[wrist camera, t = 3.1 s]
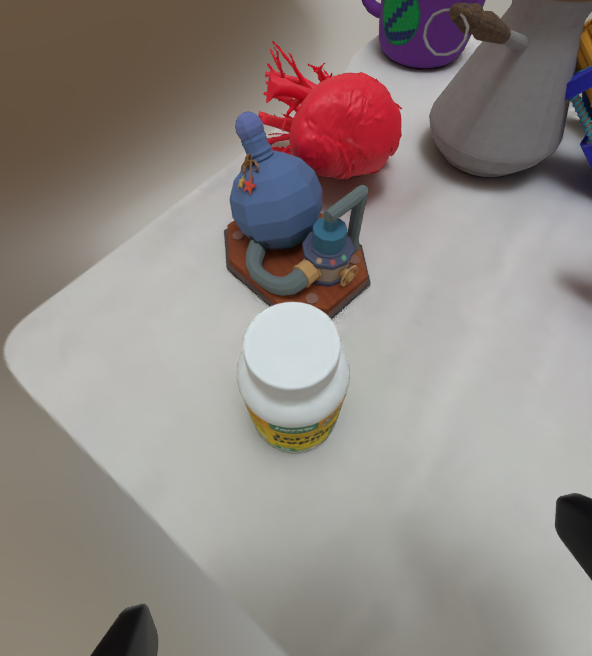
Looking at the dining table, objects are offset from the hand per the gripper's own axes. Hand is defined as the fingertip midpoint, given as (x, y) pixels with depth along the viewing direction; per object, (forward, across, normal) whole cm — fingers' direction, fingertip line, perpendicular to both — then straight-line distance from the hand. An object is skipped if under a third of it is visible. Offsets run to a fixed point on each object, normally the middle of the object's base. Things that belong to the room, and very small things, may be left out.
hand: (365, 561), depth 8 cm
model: (+23, -2, -4) cm, 24 cm away
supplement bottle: (+15, 0, +4) cm, 16 cm away
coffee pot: (+28, -19, -9) cm, 35 cm away
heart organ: (+21, -8, -13) cm, 26 cm away
